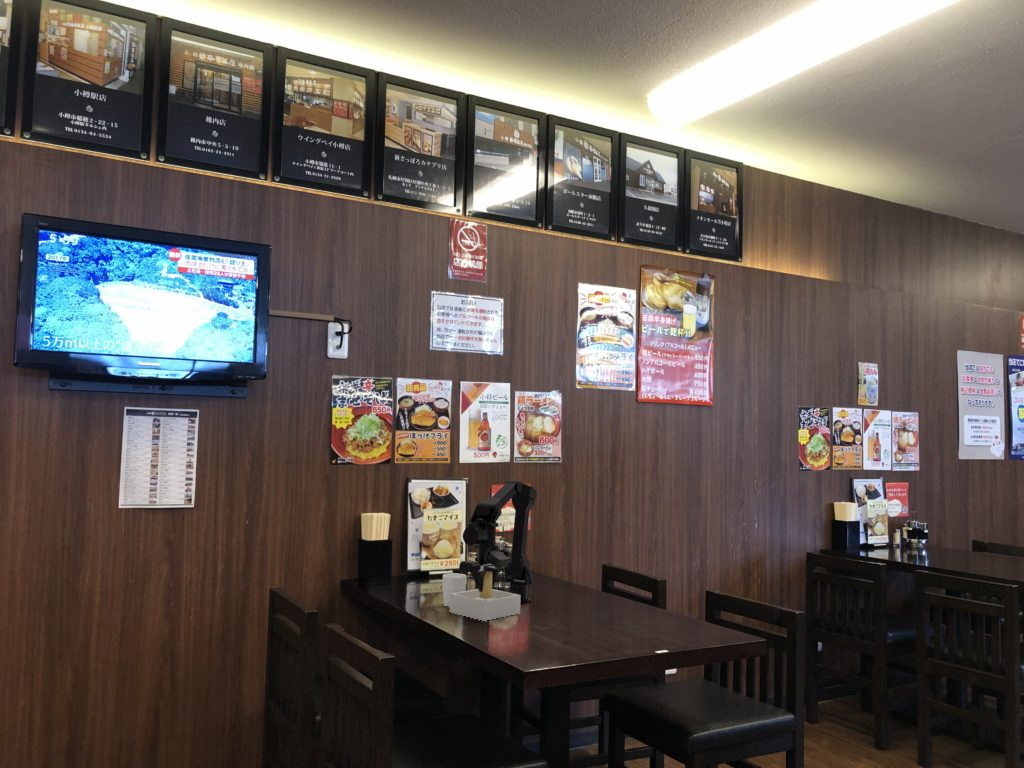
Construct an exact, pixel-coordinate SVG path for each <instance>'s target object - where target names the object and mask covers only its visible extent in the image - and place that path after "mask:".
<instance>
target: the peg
mask: <svg viewBox="0 0 1024 768" xmlns="http://www.w3.org/2000/svg"><path fill="white" fill-rule="evenodd" d="M485 571H486V570H485ZM479 598H482V599H490V598H492V572H490V571H486V573H485V575H484V577H483V590H482V592H480V595H479Z"/></svg>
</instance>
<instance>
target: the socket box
mask: <svg viewBox="0 0 1024 768" xmlns="http://www.w3.org/2000/svg"><path fill="white" fill-rule="evenodd" d="M479 595H480V592H479V590H478V588H477V589H476V588H475V589H469V590H465V591H463V592H457V593H451V594H450V607H449V613H450V612H451V613H450V614H453V613H454V614H453V615H457V614H458V616H460V615H462V617H464V616H466V617H465V618H468V617H470V618H469V619H472V618H473V620H476V619H478V620H477V621H480V620H482V621H481V622H483V621H485V622H488V621H487V620H490V621H492V620H491V619H495V620H497V619H496V618H499V619H501V618H500V617H504V618H506V617H505V616H509V617H511V616H510V615H514V616H516V615H515V614H518V615H521V603H520V602H521V595H518V594H513V593H509V591H503V590H498V589H492V598H490V599H482V598H479Z"/></svg>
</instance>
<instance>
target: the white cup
mask: <svg viewBox="0 0 1024 768" xmlns="http://www.w3.org/2000/svg"><path fill="white" fill-rule="evenodd" d="M466 584H467V575H466V574H464V573H456V572H453V573H452V572H451V573H444V574H443V575H442V597H443V606H444V607H445V606H448V607H447V608H450V594H451V593H457V592H463V591H466V588H467V587H466V586H467V585H466Z"/></svg>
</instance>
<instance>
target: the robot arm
mask: <svg viewBox="0 0 1024 768" xmlns="http://www.w3.org/2000/svg"><path fill="white" fill-rule="evenodd" d="M537 495H538V493H537V490H536V489H535V487H534V486H532V485H528V484H525V483H523V482H521V481H519V480H514V479H513V480H509V479H508V480H506V481H505V483H504V484H503V486H502V487H500V488H499V489H498V491H497V492H495V493H494V494H493V495H492V496H491V497H490V498H486V499H483V500H481V501H480V502H478V503H477V504H476V506H475V508H474V510H473V513H472V516H471V518H470V521H469V523H468V525H467V526H468V527H466V528H465V529H464V531H463V533H462V540H463V542H464V543H465V544H466V545H468V546H474V548H475V549H477V557H474V560H471V559H468V560H461V561H460V562H459V568H458V569H459V571H462V572H467V573H470V575H471V576H472V579H473V581H474V583H475V585H476V587H477V589H478V590H479V592H482V590H483V577H484V575H485V573H486V571H490V572H492V589H493V588H494V585H495V583H496V580H497V578H498V575H499V573H501V572H502V571H503V575H504V580H505V581H504V582H505V583H509V587H508V592H509V593H513V594H518V595H521V602H520V604H523V603H528V602H532V599H531V598H529V588H530V586H531V585H533V583H534V579H535V577H534V575H533V573H532V571H531V569H530V561H529V559H528V557H527V555H526V551H527V543H528V542H527V539H528V533H529V532H528V530H529V518H530V512H531V511H532V509H533V508H534V506H535V504H536V499H537ZM510 501H511V504H512V507H513V509H514V511H515V512H514V522H513V532H512V541H511V542H512V543H511V551H510V550H506V551H500V550H499V549H500V547H499V545H497V543H496V540H497V539H496V537H497V528H498V527H500V525H499V523H498V522H497V520H498V519H499V518H500V516H501V515H502V509H503V507H504V506H506V504H508V503H509V502H510ZM484 568H485V570H484Z"/></svg>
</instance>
